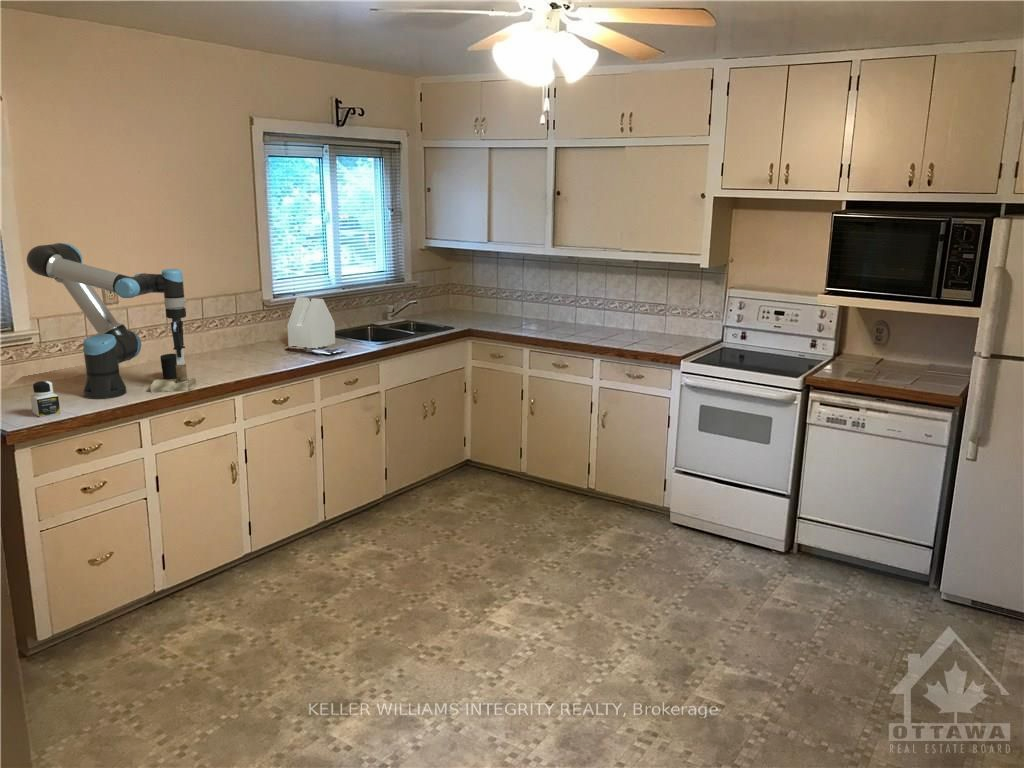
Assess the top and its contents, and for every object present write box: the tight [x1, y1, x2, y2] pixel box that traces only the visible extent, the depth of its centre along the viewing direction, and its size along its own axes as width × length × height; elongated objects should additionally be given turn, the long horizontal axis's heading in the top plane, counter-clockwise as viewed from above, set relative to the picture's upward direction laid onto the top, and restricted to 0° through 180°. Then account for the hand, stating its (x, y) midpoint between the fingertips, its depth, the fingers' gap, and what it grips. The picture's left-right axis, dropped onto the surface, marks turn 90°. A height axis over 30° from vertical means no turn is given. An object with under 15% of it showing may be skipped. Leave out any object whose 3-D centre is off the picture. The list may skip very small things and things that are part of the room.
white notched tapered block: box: [286, 296, 336, 349], centre depth 409 cm, size 19×15×25 cm
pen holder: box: [159, 353, 177, 380], centre depth 339 cm, size 9×9×10 cm
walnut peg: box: [176, 363, 188, 383], centre depth 322 cm, size 4×4×10 cm
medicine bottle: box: [29, 380, 61, 418], centre depth 285 cm, size 7×7×12 cm
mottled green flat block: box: [149, 377, 197, 393], centre depth 322 cm, size 16×9×3 cm, turn 104°
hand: (180, 364), depth 321 cm, fingers closed
